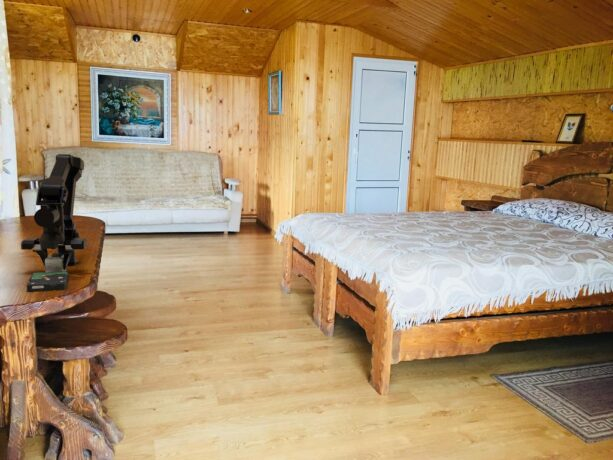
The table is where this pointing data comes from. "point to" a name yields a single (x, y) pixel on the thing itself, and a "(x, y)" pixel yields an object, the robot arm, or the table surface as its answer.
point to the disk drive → (48, 281)
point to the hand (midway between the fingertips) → (56, 269)
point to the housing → (54, 263)
